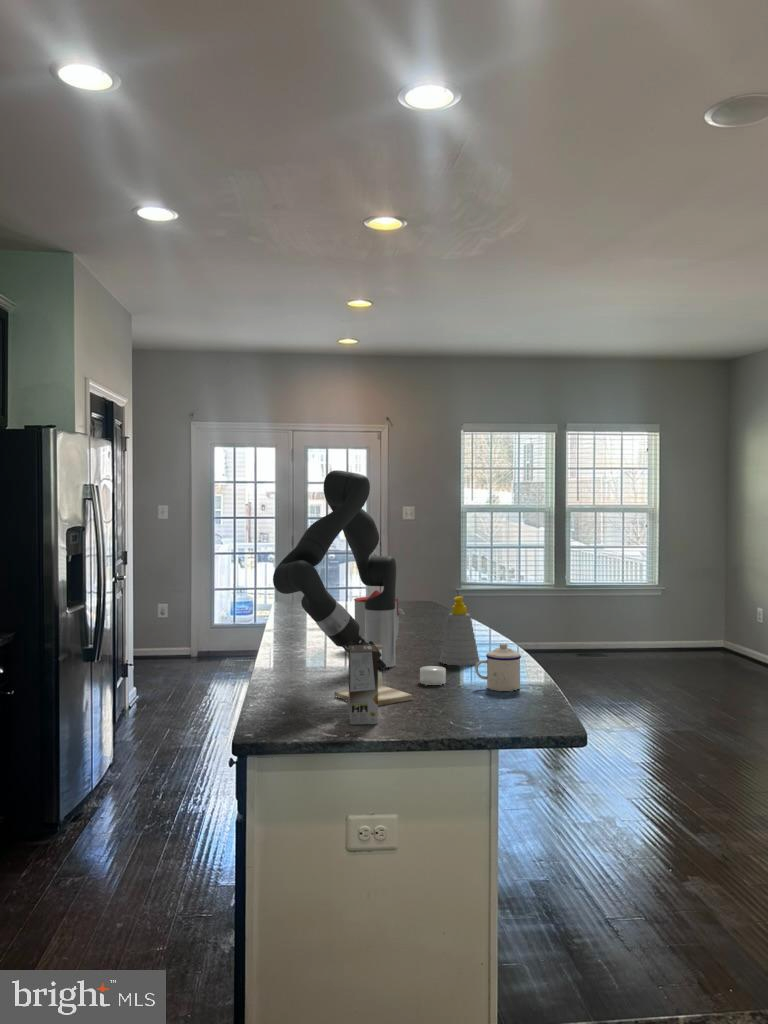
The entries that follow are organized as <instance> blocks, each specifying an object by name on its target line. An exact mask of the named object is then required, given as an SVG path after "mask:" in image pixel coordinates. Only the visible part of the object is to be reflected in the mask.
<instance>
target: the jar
mask: <svg viewBox="0 0 768 1024" xmlns="http://www.w3.org/2000/svg"><path fill="white" fill-rule="evenodd" d="M374 645H375V646H376V647H377V649H378V650H379V652H380V653H381V657H380V659H381V660H382V644H374ZM382 673H383V672H379V671H378V687H380V686H382V684H383V678H382V676H383V674H382Z"/></svg>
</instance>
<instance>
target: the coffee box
mask: <svg viewBox="0 0 768 1024" xmlns="http://www.w3.org/2000/svg"><path fill="white" fill-rule="evenodd" d="M348 690H349V702H348V718H349V725H351V726H352V725H353V726H354V725H357V726H358V725H377V724H378V723H379V706H378V651H377V648H376V646H375V645H350V646H349V653H348Z"/></svg>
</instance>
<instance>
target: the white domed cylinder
mask: <svg viewBox="0 0 768 1024" xmlns="http://www.w3.org/2000/svg"><path fill="white" fill-rule="evenodd" d="M446 675H447V670H446V667H443V666H440V665H439V666H438V665H436V666H435V665H425V666H421V667H420V668H419V684H420V683H421V684H420V685H422V684H425V685H424V686H427V685H440V686H443V685H442V684H444V685H446V684H445V683H446V682H447V676H446Z"/></svg>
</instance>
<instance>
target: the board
mask: <svg viewBox="0 0 768 1024" xmlns="http://www.w3.org/2000/svg"><path fill="white" fill-rule="evenodd" d="M335 696H337V697H339V698H342V699H344V700H343V701H345V700H347V701H346V702H348V701H349V689H346V690H339V691H334V697H335ZM337 697H336V698H337ZM339 698H338V699H339ZM413 698H414V697H413V694H411V693H408V692H404V691H401V690H398V689H394V688H393V687H389V686H385V685H382V686H380V687H378V707H379V706H386V705H391V704H396V703H397V704H398V703H401V702H403V703H404V702H407V701H409V702H410V701H412V700H414V699H413ZM342 699H341V700H342Z"/></svg>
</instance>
